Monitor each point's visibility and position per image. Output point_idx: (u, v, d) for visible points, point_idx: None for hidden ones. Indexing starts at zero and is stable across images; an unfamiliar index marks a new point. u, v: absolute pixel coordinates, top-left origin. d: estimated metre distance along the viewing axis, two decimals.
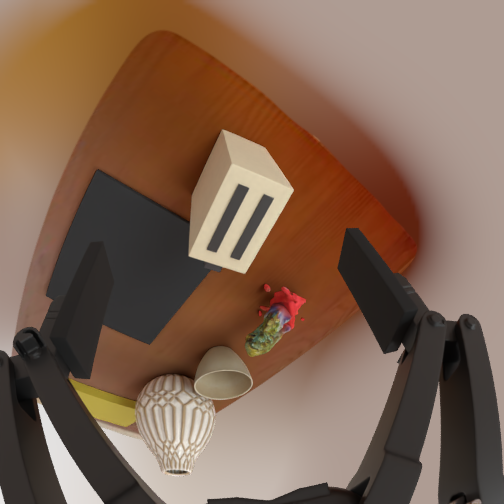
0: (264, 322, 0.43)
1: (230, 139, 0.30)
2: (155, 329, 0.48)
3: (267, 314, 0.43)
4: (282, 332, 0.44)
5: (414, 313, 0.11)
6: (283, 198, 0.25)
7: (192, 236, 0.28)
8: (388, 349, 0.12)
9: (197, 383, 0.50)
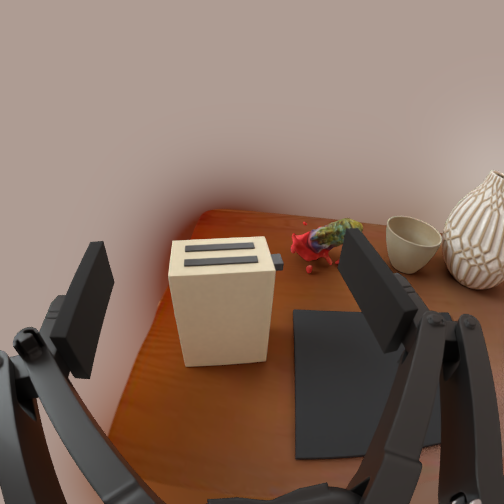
0: (329, 241, 0.44)
1: None
2: None
3: (322, 245, 0.45)
4: (326, 226, 0.47)
5: (414, 313, 0.11)
6: (182, 242, 0.29)
7: (263, 287, 0.27)
8: (388, 349, 0.12)
9: None
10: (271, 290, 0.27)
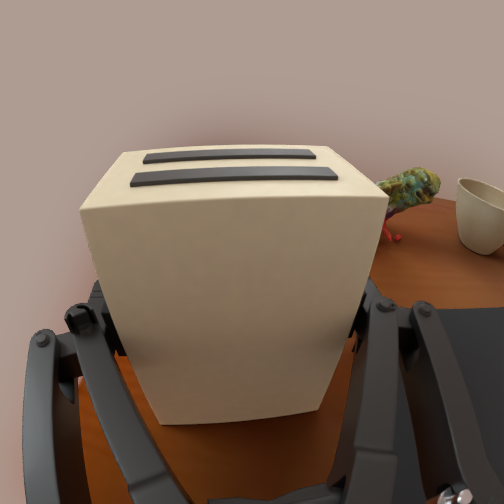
0: (395, 200, 0.27)
1: None
2: None
3: None
4: None
5: (363, 298, 0.12)
6: (143, 152, 0.12)
7: (351, 248, 0.10)
8: None
9: None
10: (369, 257, 0.10)
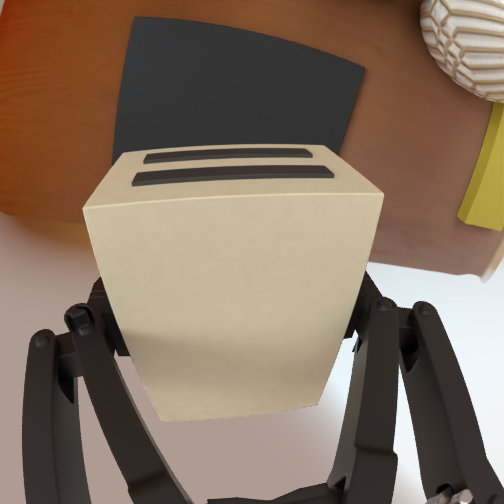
0: None
1: None
2: (327, 62, 0.26)
3: None
4: None
5: (363, 298, 0.12)
6: (143, 153, 0.12)
7: (348, 243, 0.10)
8: None
9: None
10: (365, 253, 0.10)
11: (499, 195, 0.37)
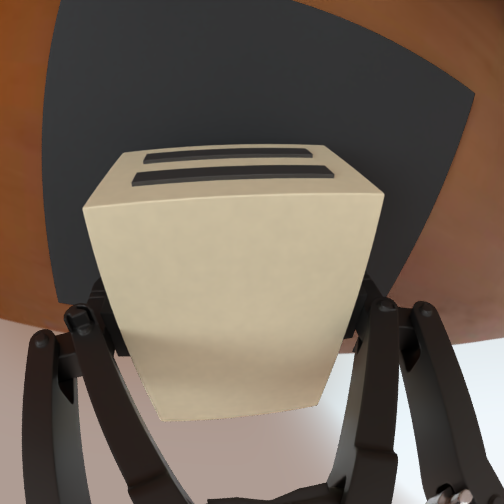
0: None
1: None
2: (427, 78, 0.13)
3: None
4: None
5: (363, 298, 0.12)
6: (143, 153, 0.12)
7: (348, 243, 0.10)
8: None
9: None
10: (365, 253, 0.10)
11: None
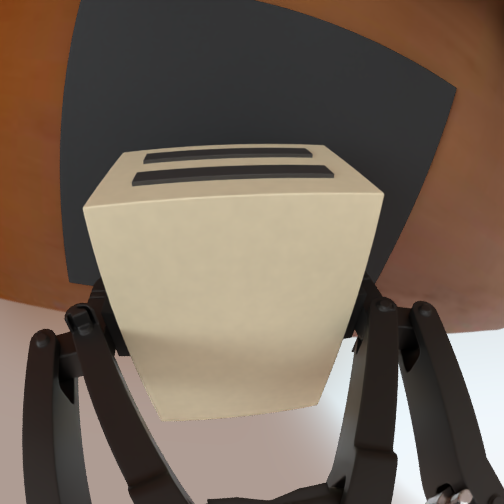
0: None
1: None
2: (409, 74, 0.15)
3: None
4: None
5: (363, 298, 0.12)
6: (143, 152, 0.12)
7: (348, 243, 0.10)
8: None
9: None
10: (365, 253, 0.10)
11: None
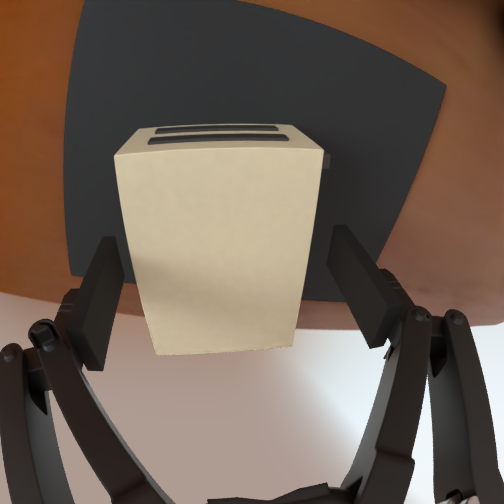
0: None
1: None
2: (399, 72, 0.16)
3: None
4: None
5: (399, 308, 0.12)
6: (154, 128, 0.16)
7: (299, 186, 0.14)
8: (374, 344, 0.13)
9: None
10: (314, 195, 0.14)
11: None
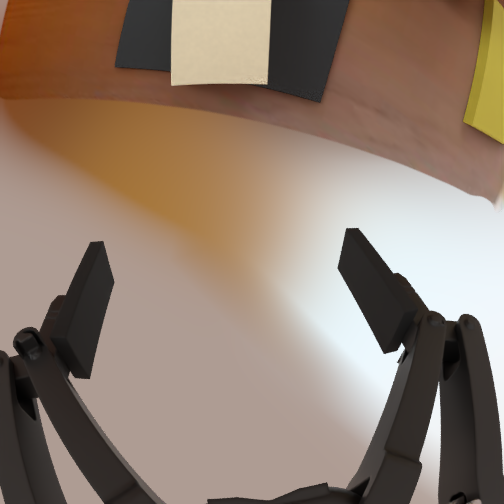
0: None
1: None
2: None
3: None
4: None
5: (414, 313, 0.11)
6: None
7: None
8: (388, 349, 0.12)
9: None
10: None
11: (502, 105, 0.32)
